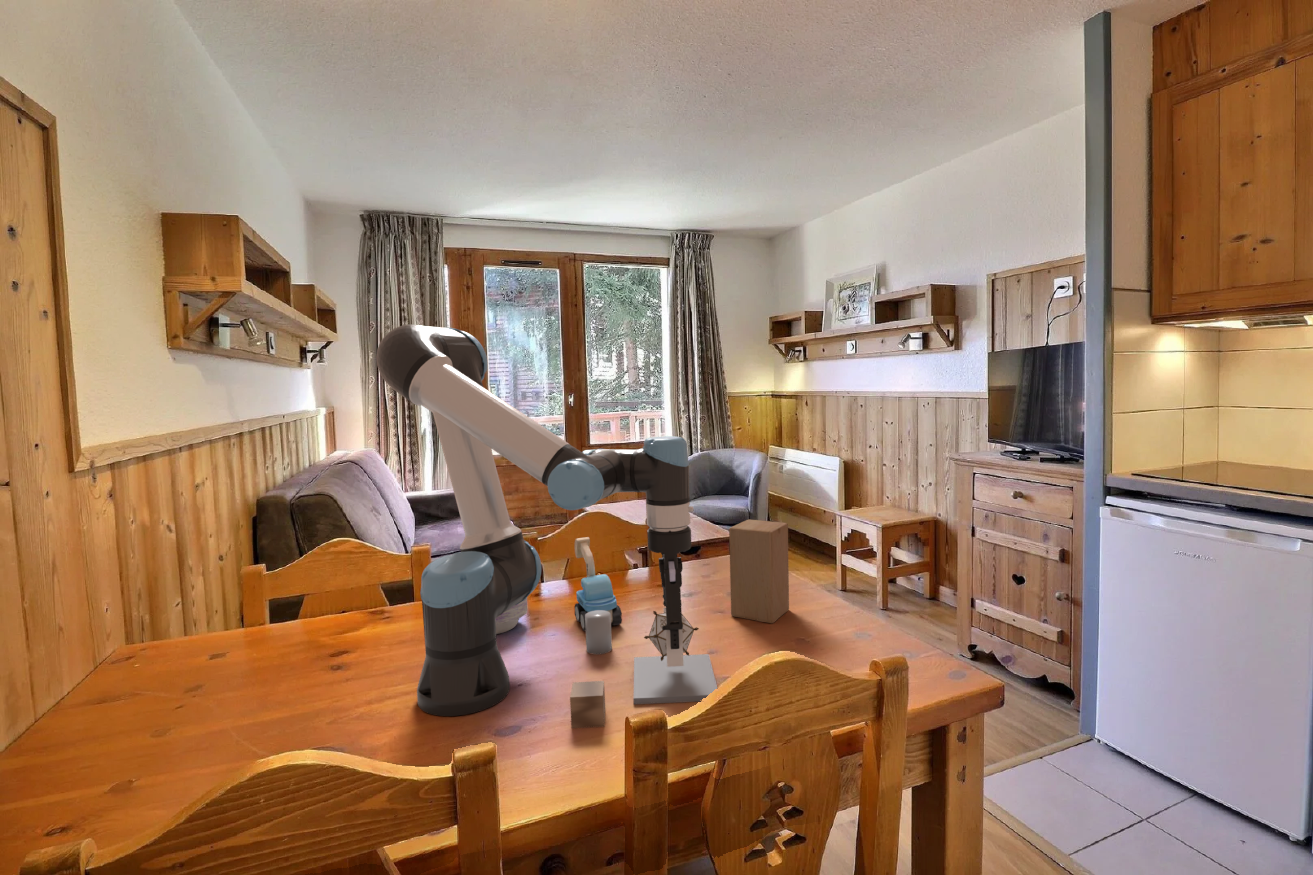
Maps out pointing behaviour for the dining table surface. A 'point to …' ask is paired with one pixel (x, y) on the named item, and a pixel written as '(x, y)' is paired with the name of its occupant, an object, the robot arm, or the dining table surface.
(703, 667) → the slate board
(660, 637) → the game die
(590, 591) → the toy excavator
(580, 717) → the walnut block
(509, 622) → the paper bowls
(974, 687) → the dining table surface
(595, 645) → the grey cylinder
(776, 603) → the wooden block
